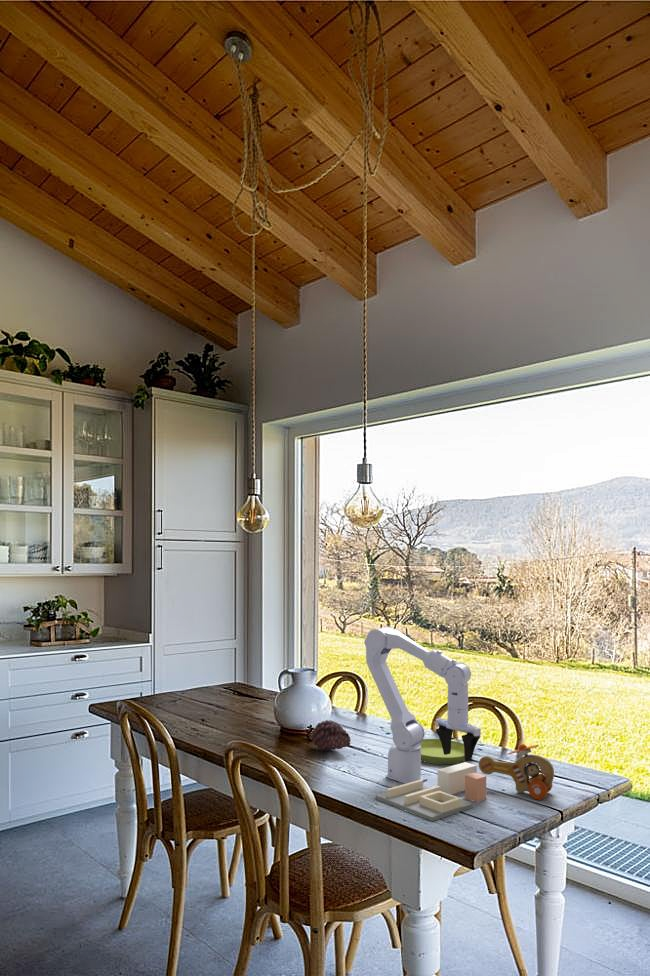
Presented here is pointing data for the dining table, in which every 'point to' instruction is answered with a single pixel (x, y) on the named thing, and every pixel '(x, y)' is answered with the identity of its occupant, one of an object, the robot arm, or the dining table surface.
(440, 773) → the block
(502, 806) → the dining table surface
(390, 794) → the assembly jig
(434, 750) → the saucer
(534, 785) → the toy helicopter
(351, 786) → the dining table surface
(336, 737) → the pine cone
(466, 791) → the block
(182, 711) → the dining table surface
